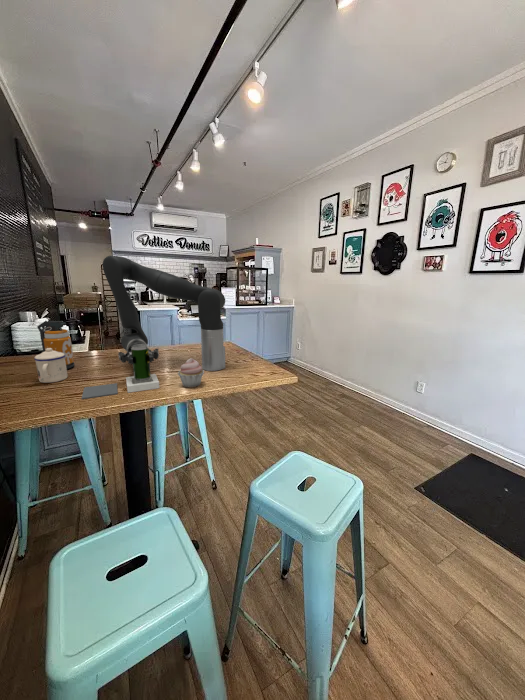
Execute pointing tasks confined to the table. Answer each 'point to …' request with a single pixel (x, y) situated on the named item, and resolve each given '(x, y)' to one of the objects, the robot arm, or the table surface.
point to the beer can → (141, 362)
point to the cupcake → (191, 373)
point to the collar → (142, 384)
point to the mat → (99, 391)
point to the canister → (57, 340)
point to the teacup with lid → (51, 366)
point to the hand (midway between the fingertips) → (141, 360)
